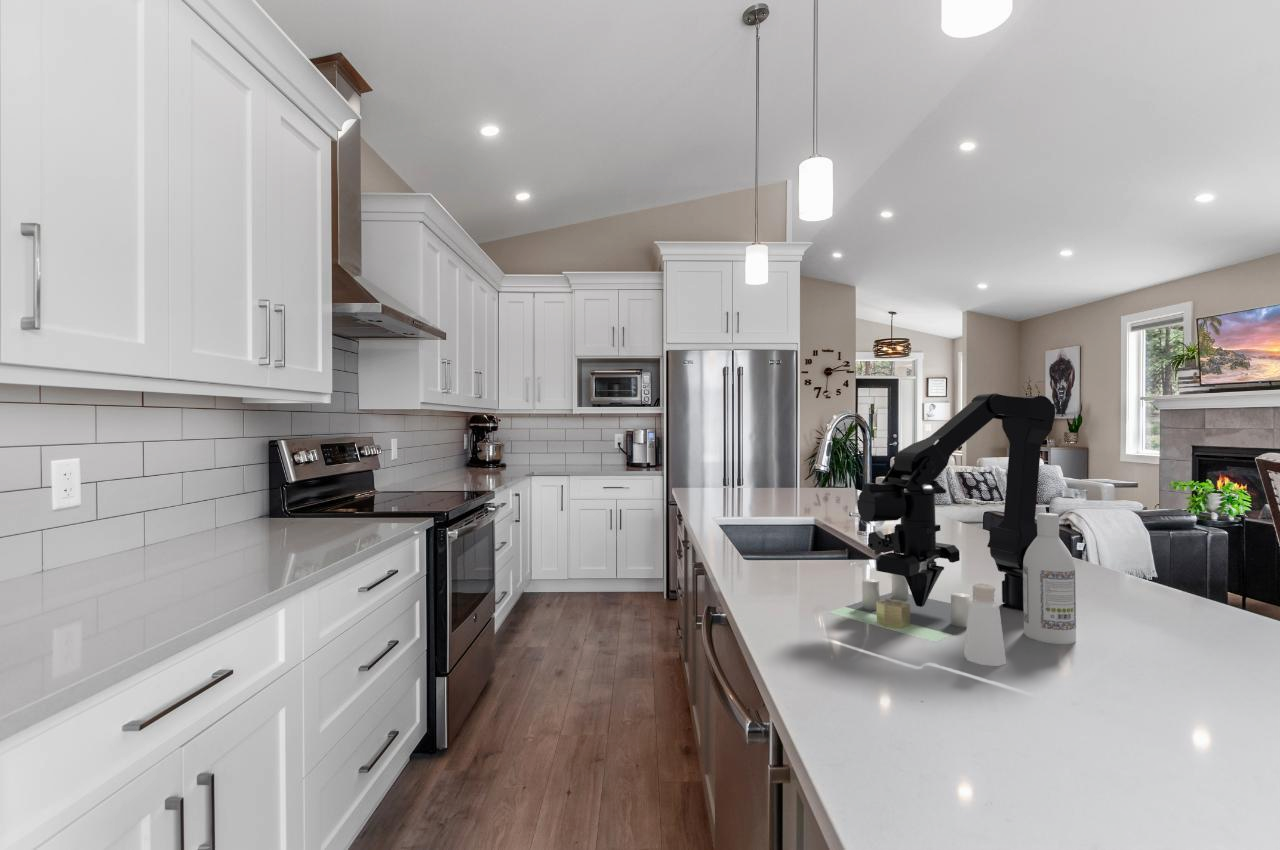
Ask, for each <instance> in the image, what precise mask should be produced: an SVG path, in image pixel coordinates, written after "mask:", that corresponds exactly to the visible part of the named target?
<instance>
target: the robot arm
mask: <svg viewBox="0 0 1280 850" xmlns="http://www.w3.org/2000/svg"><path fill="white" fill-rule="evenodd" d="M1055 418H1056V405H1055V403H1053V402H1052V401H1051V399H1050V398H1048V397H1047V396H1044V395H1034V396H1033V395H1032V396H1031V395H1030V396H1010V395H1005V394H999V393H996V392H995V393H984V394H983V393H982V394H978V395H975V396H974V397H973V398H972V399H971V402H969V403H968V404H967V405H966V406H965V407H964V408H962V409H961V410H960V411H959V412H958V413H956V414H955V415H953V417H952V418H950V419H949V420H948V421H947V422H946V423H945V424H943V425H942V426H940V427H939V428H938V429H937V430H936V431H935V432H934V433H932V434H931V435H930V436H928V437H926V438H924V439H921V440H919V441H916V442H913V443H911V444H910V445H908V446H906V447H905V448H903V449H901V450H899V451H898V452H897V453H896V454H895V455H894V457H893V464H892V466H891V467H890V468H889V470H888V472H887V473H886V475H885V477H884V478H883V480H882V481H881V483H873V482H865V483H863V489H862V490H861V491H860V494H859V496H858V500H856V501H857V506H856V507H857V512H858V514H859V516H860V518H861V519H862V520H863V521H864V522H865V523H869V522H870V523H871V522H872V523H873V522H874V523H875V522H889V521H893V522H894V521H898V520H900V523H898V524H897V523H896V524H895V525H894V531H893V532H890V533H887V534H884V533H883V532H882V531H881V530H877V531H874V532H869V533H868V536H867V537H868V538H867V547H868V548H869V549H870V550H871V551H873V552H874V555H875V556H877V555H879V556H877V558H875V571H876V572H881V573H885V574H891V575H892V574H896V575H901V576H904V577H905V578H906V580H907V583H908V589H909V590H910V593H911V595H912V596H913V599H914V601H915V604H916V606H919V607H922V606H924V605H925V603H926V601H927V599H928V598H929V596H930V594H931V592H932V590H933V589H934V586H935V584H936V583H937V581H938V579H939V577H940V575H941V574H942V573H943V571H945V567H944V566H941V565H937V561H935V560H937V559H943V560H944V559H946V560H948V562H949V563H952V564H953V563H957V562H959V561H961V560H960V555H961V554H960V550H959V549H958V548H957V546H956V545H954V544H949V543H942V542H937V537H936V534H937V533H938V532H940V531H941V524H936V497H935V496H936V495H940V494H942V495H943V494H946V493H947V489H945V487H943V486H942V485H940V484H939V482H938V481H937V479H938V477H940V475H941V474H942V473H943V471H945V469H946V468H947V466H948V464H949V461H950V458H951V456H952V454H954V453H955V451H957V450H958V449H959V448H961V446H963V445H964V444H965V443H966V442H967V441H968V440H970V439H971V438H972V437H973V436H974V435H976V434H977V432H979V431H980V430H982V428H984V427H986V425H987V424H988V423H990V422H991V421H992V420H994V419H995V420H1000V421H1001V427H1002V430H1003V433H1004V434H1005V436H1006V438H1007V440H1008V441H1009V447H1008V449H1009V450H1008V461H1007V462H1008V464H1007V474H1006V484H1005V485H1006V487H1005V500H1004V508H1003V509H1004V511H1003V518H1002V520H1001V521H1000V522H999V524H998V525H997V526H993V525H991V526H990V527H989V530H988V531H989V540H988V543H987V545H986V547H987V548H989V555H990V557H991V558H992V559H993V560H994V562H995V565H996V569H997V571H998V572H1002V573H1004V580H1001V602H1002V604H1000V607H1002V608H1005V609H1011V610H1015V611H1021V612H1024V608H1023V560H1024V556H1025V553H1026V551H1027V549H1028V547H1029V546H1030V544H1031V543H1032V542H1033V541H1034V539H1035V538H1036V537H1037V535H1038V534H1037V523H1036V510H1037V498H1038V485H1039V473H1040V464H1041V463H1040V462H1041V461H1040V460H1041V449H1042V444H1043V443H1044V442H1045V440H1046V439H1047V437H1048V436H1049V434H1050V433H1051V432H1052V431H1053V426H1054V421H1055ZM882 553H883V554H882Z"/></svg>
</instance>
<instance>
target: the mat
mask: <svg viewBox="0 0 1280 850" xmlns="http://www.w3.org/2000/svg"><path fill="white" fill-rule="evenodd" d="M883 599H892V592H888V593H885V594H882V595H880V600H883ZM892 600H894V599H892ZM904 602H906V603H908V604H909V605H910V626H907V627H905V628H902V629H900V628H891V627H884V626H883V625H881V624H879V623H878V622H877V610H867V609H864V608H863V603H862V601H859V602H855V603H853V604H849V605H846V606H842V607H840V608H838V609H837V608H836V609H833V610H830V611H827V614H828V613H829V614H832V615H836V616H840V617H842V618H846V619H850V620H854V621H858V622H861V623H865V624H869V625H872V626H876V627H880V628H883V629H887V630H891V631H894V632H897V633H901V634H904V635H909V636H913V637H917V638H920V639H924V640H926V641H931V642H933V643H936V642H939V641H940V640H941V641H942V640H944V639H946V638H948V637H950V636H954V635H955V634H959V633H960V632H962V631H964V630H967V628H962V627H956V626H953V625H952V624H951V602H947V601H946V602H945V601H941V600H938V599H933V598H930V597H928V599H927V601H926V603H925V605H924V606H922V607H919V606H916V604H915V601H914V599H913V596H912V594H910V593H908V600H907V601H904Z"/></svg>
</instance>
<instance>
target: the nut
mask: <svg viewBox="0 0 1280 850" xmlns="http://www.w3.org/2000/svg"><path fill="white" fill-rule="evenodd" d="M876 604H877V622H878V623H879V624H881V625H883V626H884V627H891V628H900V629H902V628H905V627H907V626H910V605H909V604H908V603H906V602H904V601H902V600H892V599H883V600H880V601H877V602H876Z"/></svg>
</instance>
